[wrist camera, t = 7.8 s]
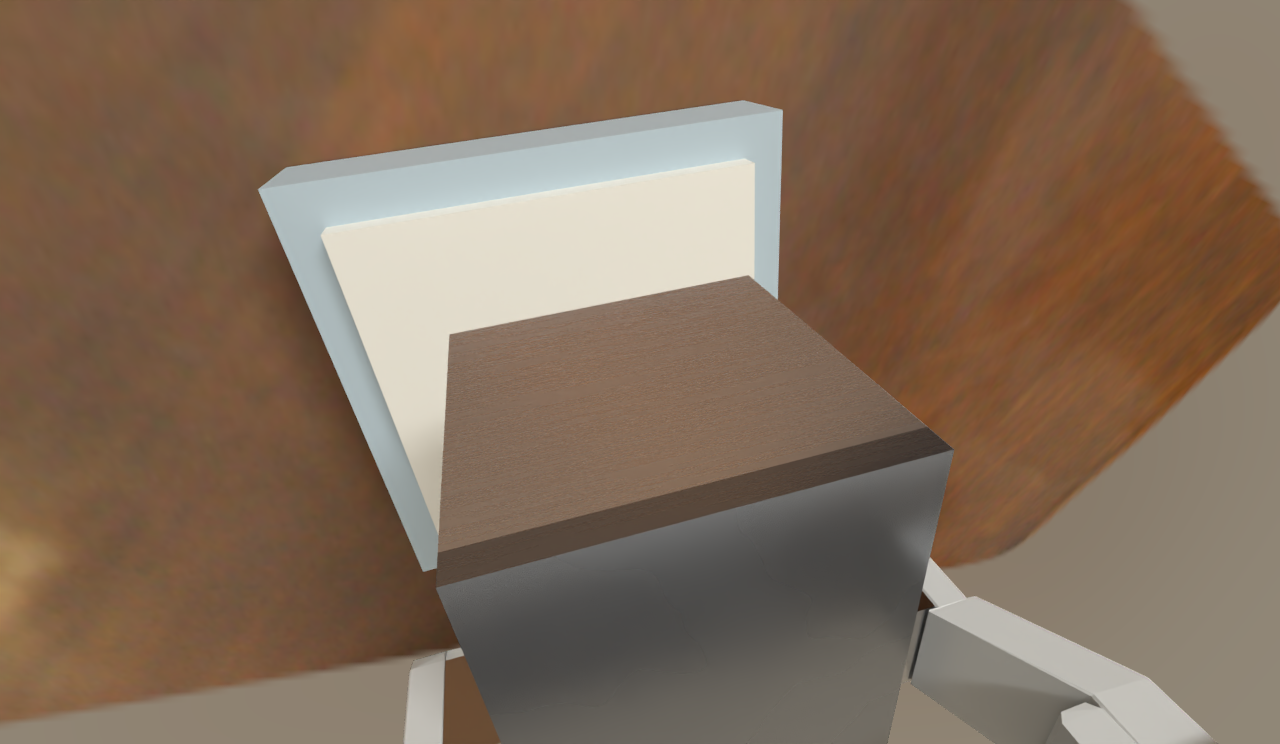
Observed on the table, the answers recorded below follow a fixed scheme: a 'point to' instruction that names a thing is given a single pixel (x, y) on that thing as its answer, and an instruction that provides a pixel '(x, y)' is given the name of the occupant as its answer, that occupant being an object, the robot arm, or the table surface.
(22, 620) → the table surface
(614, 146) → the stand
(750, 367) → the block
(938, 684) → the robot arm
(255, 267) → the table surface
